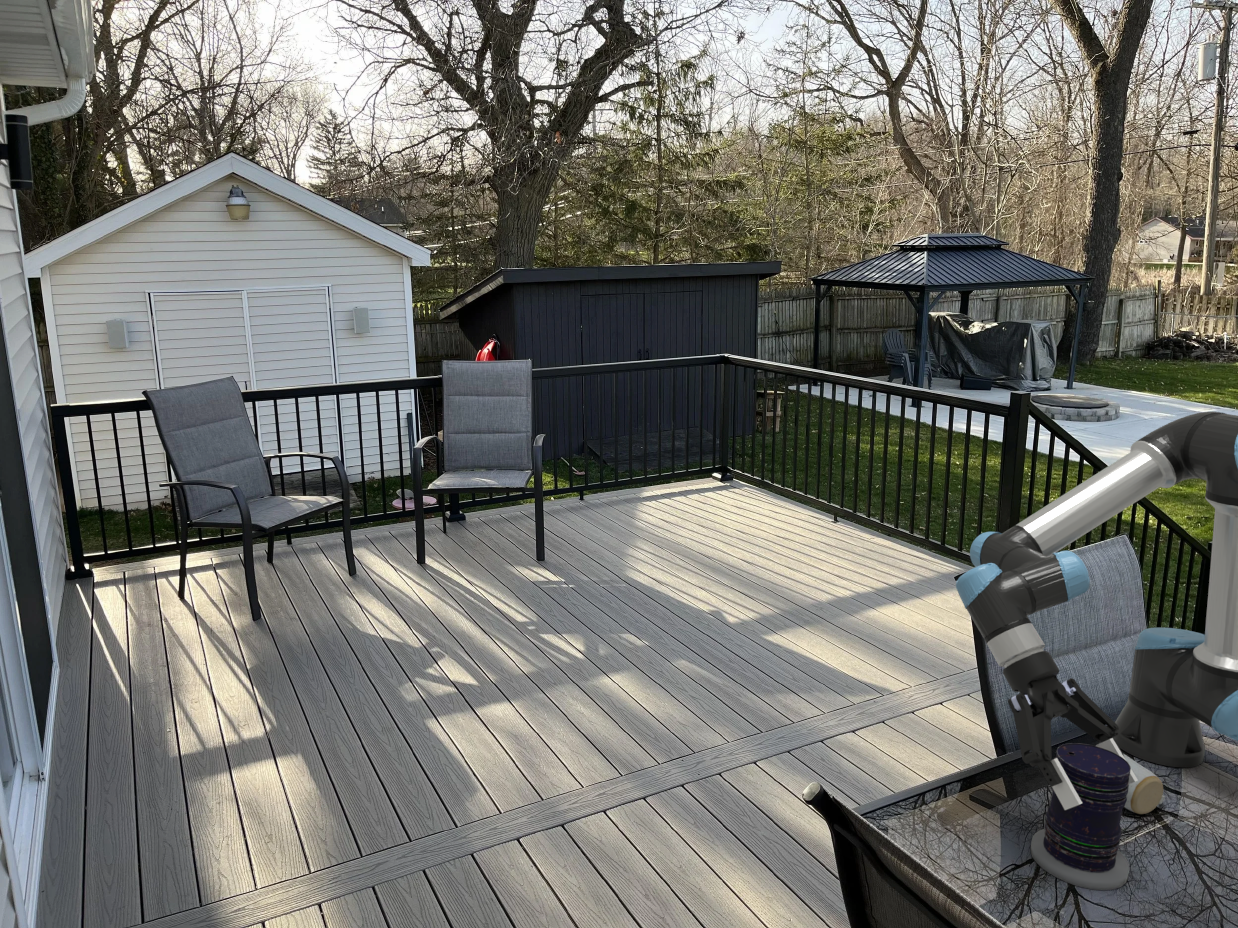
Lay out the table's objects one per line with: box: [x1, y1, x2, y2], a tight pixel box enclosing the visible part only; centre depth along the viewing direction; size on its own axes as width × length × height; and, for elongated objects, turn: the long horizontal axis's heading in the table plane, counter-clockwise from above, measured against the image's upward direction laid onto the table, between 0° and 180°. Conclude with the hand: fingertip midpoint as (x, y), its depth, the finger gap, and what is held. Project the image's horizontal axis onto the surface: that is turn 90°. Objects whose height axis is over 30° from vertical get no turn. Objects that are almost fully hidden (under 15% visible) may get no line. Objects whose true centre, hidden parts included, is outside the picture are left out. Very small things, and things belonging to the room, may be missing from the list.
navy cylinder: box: [1043, 742, 1131, 873], centre depth 135 cm, size 10×10×15 cm
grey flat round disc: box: [1030, 828, 1130, 891], centre depth 136 cm, size 13×13×2 cm
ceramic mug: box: [1123, 753, 1166, 815], centre depth 153 cm, size 11×8×8 cm
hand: (1102, 795), depth 133 cm, fingers open, 13 cm apart
